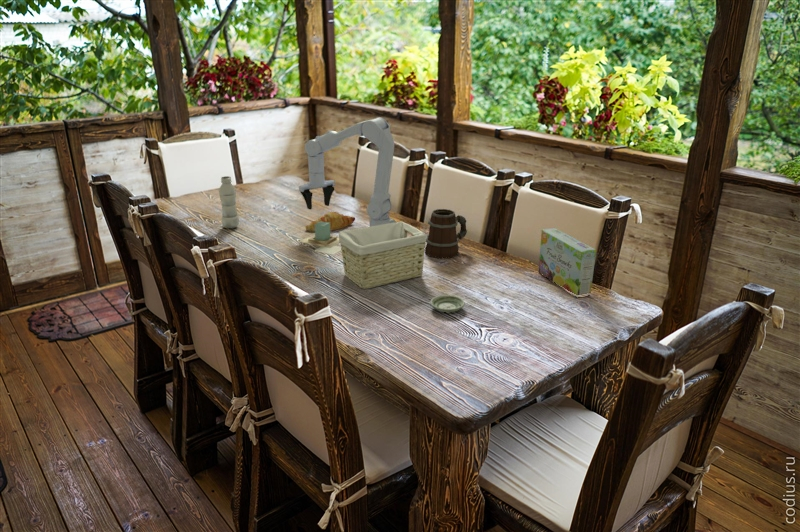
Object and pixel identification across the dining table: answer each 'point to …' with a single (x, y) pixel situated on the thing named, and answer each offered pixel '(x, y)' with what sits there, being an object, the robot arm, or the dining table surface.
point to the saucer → (447, 303)
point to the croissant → (332, 221)
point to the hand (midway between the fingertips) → (318, 207)
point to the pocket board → (311, 240)
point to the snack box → (566, 261)
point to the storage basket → (382, 254)
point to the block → (322, 231)
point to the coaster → (329, 249)
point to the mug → (444, 234)
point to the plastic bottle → (228, 203)
